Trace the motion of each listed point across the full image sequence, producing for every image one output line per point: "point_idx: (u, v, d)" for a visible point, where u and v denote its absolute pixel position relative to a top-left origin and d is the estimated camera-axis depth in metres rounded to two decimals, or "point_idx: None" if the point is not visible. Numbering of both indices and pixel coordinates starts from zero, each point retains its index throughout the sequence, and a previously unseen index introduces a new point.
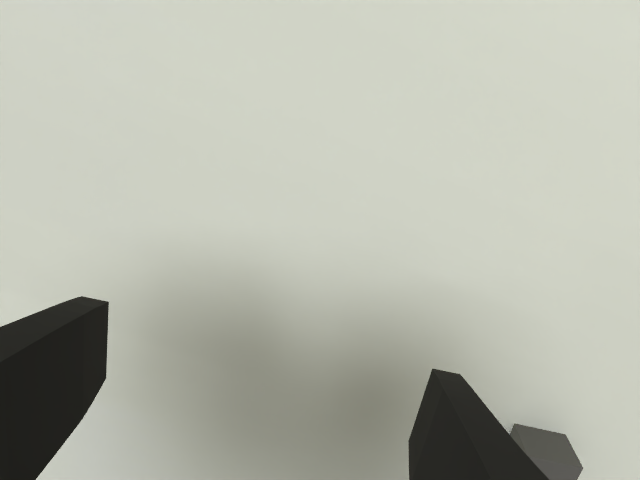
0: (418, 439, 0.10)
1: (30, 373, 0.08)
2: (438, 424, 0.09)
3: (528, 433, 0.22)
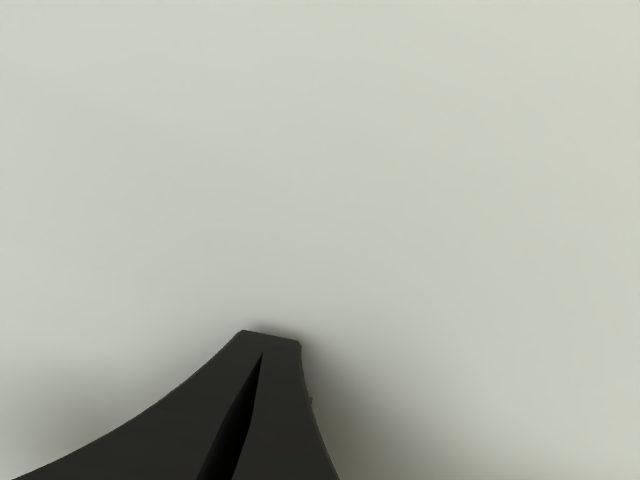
0: None
1: (236, 416, 0.08)
2: None
3: None
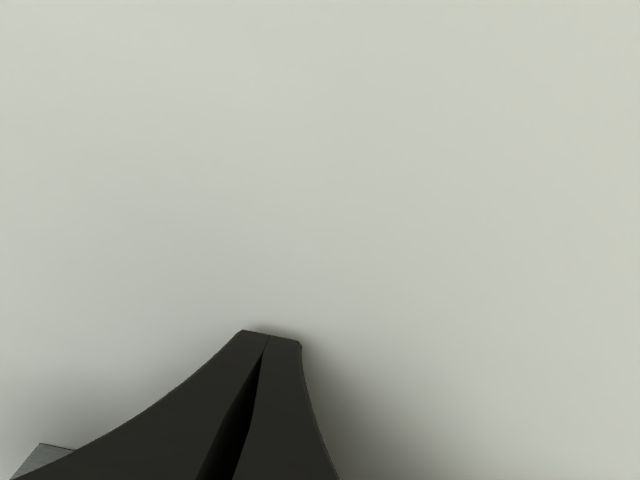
0: None
1: (236, 416, 0.08)
2: None
3: None
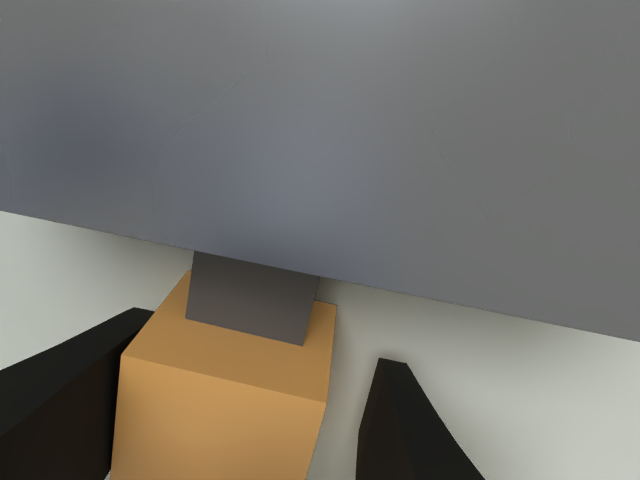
0: (364, 428, 0.10)
1: (98, 387, 0.08)
2: (378, 412, 0.09)
3: None
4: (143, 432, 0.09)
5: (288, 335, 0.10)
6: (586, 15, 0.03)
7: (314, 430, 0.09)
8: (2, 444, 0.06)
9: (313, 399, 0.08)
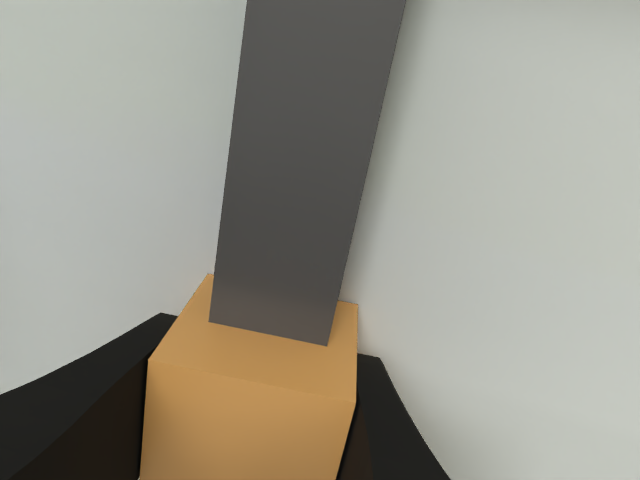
0: None
1: (131, 394, 0.08)
2: None
3: None
4: (172, 437, 0.09)
5: (312, 335, 0.10)
6: None
7: (343, 430, 0.09)
8: (49, 454, 0.06)
9: (343, 399, 0.08)
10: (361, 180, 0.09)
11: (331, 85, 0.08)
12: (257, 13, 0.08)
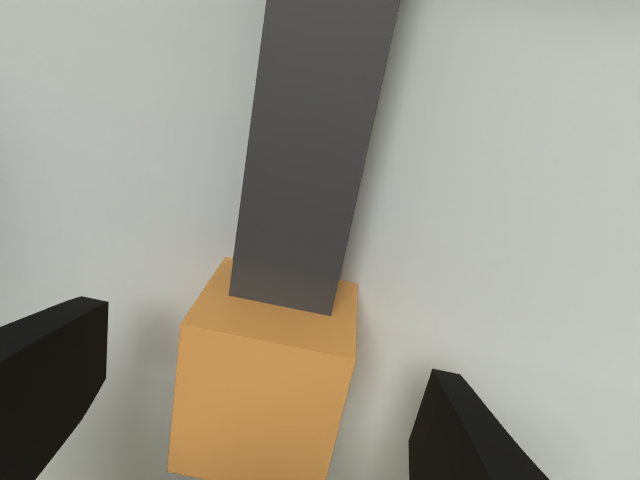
0: (418, 439, 0.10)
1: (30, 373, 0.08)
2: (438, 424, 0.09)
3: None
4: (199, 391, 0.11)
5: (318, 306, 0.11)
6: None
7: (345, 383, 0.10)
8: None
9: (344, 356, 0.10)
10: (359, 172, 0.10)
11: (333, 92, 0.10)
12: (272, 33, 0.09)
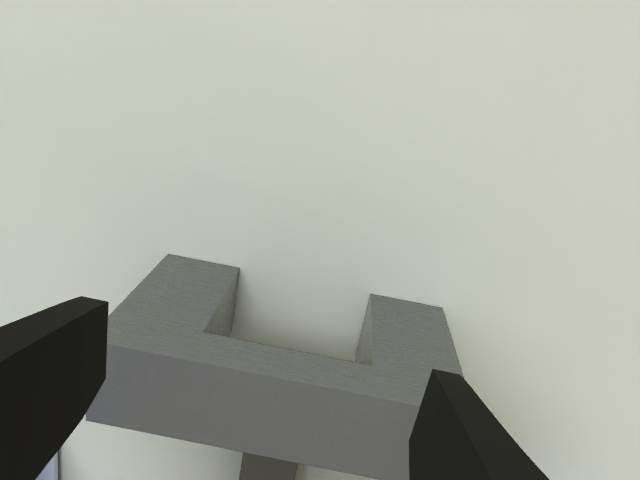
0: (418, 439, 0.10)
1: (30, 373, 0.08)
2: (438, 424, 0.09)
3: None
4: None
5: None
6: (349, 410, 0.15)
7: None
8: None
9: None
10: None
11: None
12: None
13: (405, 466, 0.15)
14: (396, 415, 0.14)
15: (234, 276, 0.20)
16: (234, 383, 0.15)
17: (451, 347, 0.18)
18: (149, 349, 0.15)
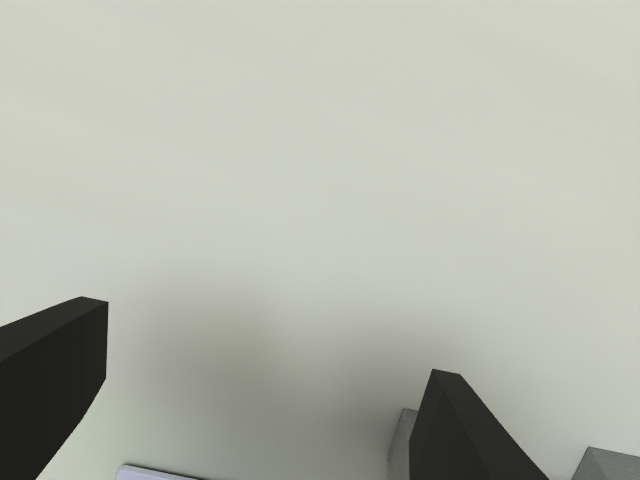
0: (418, 439, 0.10)
1: (30, 373, 0.08)
2: (438, 424, 0.09)
3: None
4: None
5: None
6: None
7: None
8: None
9: None
10: None
11: None
12: None
13: None
14: None
15: None
16: None
17: None
18: None
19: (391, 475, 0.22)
